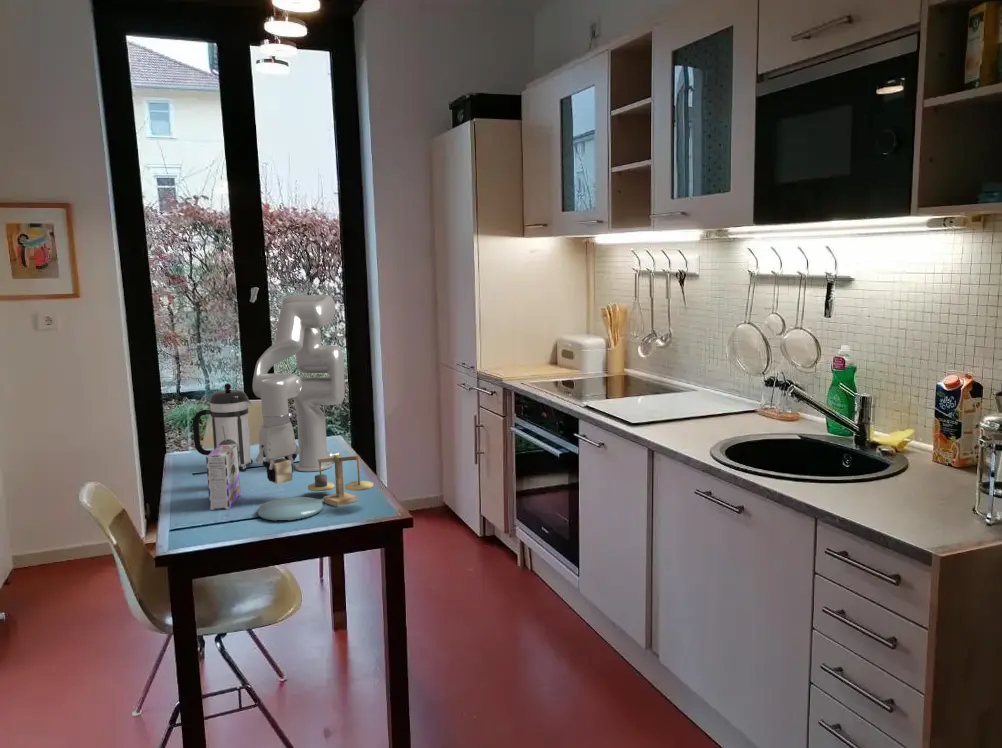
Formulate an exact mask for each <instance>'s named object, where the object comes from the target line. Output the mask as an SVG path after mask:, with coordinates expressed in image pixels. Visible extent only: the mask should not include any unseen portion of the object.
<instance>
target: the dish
mask: <svg viewBox="0 0 1002 748" xmlns="http://www.w3.org/2000/svg"><path fill="white" fill-rule="evenodd" d="M323 507H324V505H323V502H322V500H320V499H317V498H313V497H305V496H295V497H294V496H293V497H284V498H278V499H275V500H274V499H273V500H271V501H267V502H266V503H263V504H261V505H260V506H259V507H258V508H257V515H258V516H259V517H260V518H262V519H265V520H270V521H277V520H288V521H295V520H296V519H297V520H300V519H301V518H302V519H305V517H306V518H308V517H311V516H315V515H316V514H318V513H320V512H321V511H322V510H323Z"/></svg>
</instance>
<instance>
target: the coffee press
mask: <svg viewBox="0 0 1002 748" xmlns="http://www.w3.org/2000/svg"><path fill="white" fill-rule="evenodd" d="M223 388H224V389H223V390H217V391H215V392H213V393H212V394H211V395H210V397H209V399H208V403H209V406H210V409H202V410H199V411H198V412H197V413H195V414H194V416H193V420H192V431H193V443H194V448H195V450H196V451H197V452H198V453H199V454H201V455H204V456H207V455H208V454H209V453H210V452H212V451H213V450H214V449H215V448H216V447H217V446H218V445H219V444H220V443H221V442H222V441H223V440H225V439H224V433H223V428H222V426H224V429H225V435H226V440H227V439H230V440H233V441H235V442H236V443H237V444H238V446H239V448H240V456H239V471H241V472H246V471H247V466H246V465H248V464H249V465H253V464H254V460H253V459H252V457H251V455H252V454H251V441H250V427H249V407H250V406H251V407H252V406H253V404H252V402H251V401H250V400H249V396H247V393H245V392H244V391H242V390H240V389H231V388H232V385H231V384H230V383H225V384H224V387H223ZM207 415H210V418H211V431H212V445H213V449H210V450H207V449H204V448H203V447H202V445H201V437H200V435H201V434H200V424H199V423H200V419H201V418H202V416H207Z"/></svg>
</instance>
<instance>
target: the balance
mask: <svg viewBox="0 0 1002 748" xmlns="http://www.w3.org/2000/svg"><path fill="white" fill-rule="evenodd" d="M360 460H361V459H360V455H351V456H343V455H342V454H339V455H337V456H334V458H324V459H318V463H319V470H320V471H319V474H316V475H315V476H314V482H313V483H311V484H308V485H307V490H308V491H311V492H325V491H330V490H332V489H334V488H335V493H333V494H330V495H327V496H323V502H324V503H325V504H328V505H331V506H333V505H334V507H336V506H337V508H339V507H342V506H345V504H346V505H349V504H352V502H353V503H356V502H358V495H355V494H352V493H350V492H349V493H348V492H346V491H345V489H346V490H347V491H353V492H359V491H366V490H370V489H372V488H373V487H374V482H372V481H370V480H369V481H368V480H360V479H361V476H360ZM344 461H345V462H346V461H357V466H356V467H357V480H354V481H351V482H348V483H345V485H344V473H343V472H344V471H343V470H344V469H343V467H344V466H343V462H344ZM322 462H332V463H334V475H335V477H334V478H335V483H334V482H331V481H328V476H327V474H322V470H321V463H322ZM344 488H345V489H344ZM355 501H356V502H355ZM338 506H339V507H338Z"/></svg>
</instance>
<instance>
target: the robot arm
mask: <svg viewBox="0 0 1002 748" xmlns="http://www.w3.org/2000/svg"><path fill="white" fill-rule="evenodd" d="M335 303H336V302H335V300H334V298H333V297H332V296H331V295H328V294H298V295H297V294H296V295H290V296H289V295H288V296H286V297H285V298H284V299H282V306H281V308H280V311H279V315H278V316H279V317H278V322H277V327H276V334H275V338H274V342H273V344H272V345H271V346H269V347H268V348H267V349H266V350H265V351H264V352H263V354H261V356H260V357H258V360H257V361H256V364H255V366H254V367H255V368H254V372H253V378H252V392H253V393H254V395H255V396H256V397H257V398H258V399H259V398H260V401H261V403H260V404H261V413H262V425H260V428H259V435H258V454H257V456H256V458H255V462H256V463H258V464H260V465H262V467H264V468H265V469H266V477H267V478H266V479H268V481H269V482H271V481H272V482H271V483H273V482H275V481H276V479H275V469H273V465H274V460H276V459H280V458H284V459H287V460H290V461H291V467H292V474H293V472H294V470H293V464H294V463H295V462H294V461H295V460H296V459H297V456H298V459H299V460H298V461H299V462H297V463H295V464H294V469H295V470H297V471H300V472H307V473H308V472H318V471H319V472H320V470H319V463H318V459H324V458H334V456H337V455H340V453H339V452H338V451H335V452H331V451H330V452H329V451H328V446H327V444H328V442H327V427H326V424H327V423H326V415H325V414H324V412H323V410H322V409H321V407H320V406H331V405H332V406H334V405H340V404H342V403H343V401H344V399H345V393H346V392H345V391H346V388H345V387H346V386H345V364H344V363H345V360H344V353H343V351H342V349H341V348H340V347H339V346H337V345H322V335H321V334H322V331H321V329H322V328H323V327H325V326H326V325H328V323H330V321H331V320H332V319H333V318H334V316H335V313H336V304H335ZM292 356H293V357H294V356H295V360H296V361H295V362H296V368H297V370H298V372H300V373H303V374H328V375H329V376H327V377H321V376H319V377H318V376H316V377H315V376H312V377H311V376H310V377H302V378H300V376H299V375H297V374H294V373H268V372H269V371H270V370H271V368H272V367H273V366H274V365H276V364H277V363H279V362H281V361H284V360H285V359H288V358H291V357H292ZM289 399H293V400H294V405H295V411H296V423H297V438H298V439H297V440H298V441H297V442H298V445H297V444H296V439H295V432H294V428H293V424H292V422H291V421H290V418H293V413H292V412H289ZM263 458H265V460H264V459H263ZM332 467H333V462H322V463H321V471H323V470H328V469H331V468H332Z"/></svg>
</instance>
